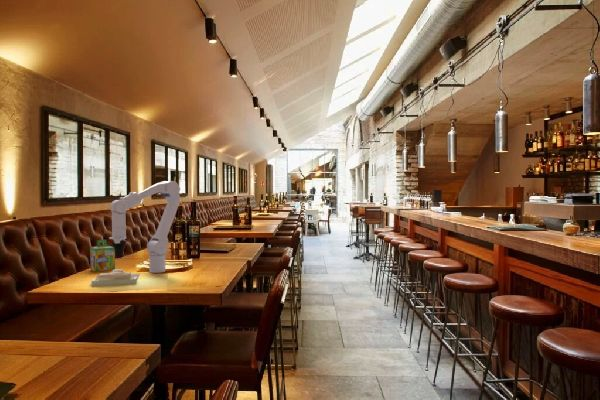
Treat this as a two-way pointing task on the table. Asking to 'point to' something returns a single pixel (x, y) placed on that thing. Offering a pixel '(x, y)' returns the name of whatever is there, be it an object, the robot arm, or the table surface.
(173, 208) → the robot arm
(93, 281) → the off-white long channel
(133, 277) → the board
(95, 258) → the chalk box
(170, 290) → the table surface
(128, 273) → the t block
